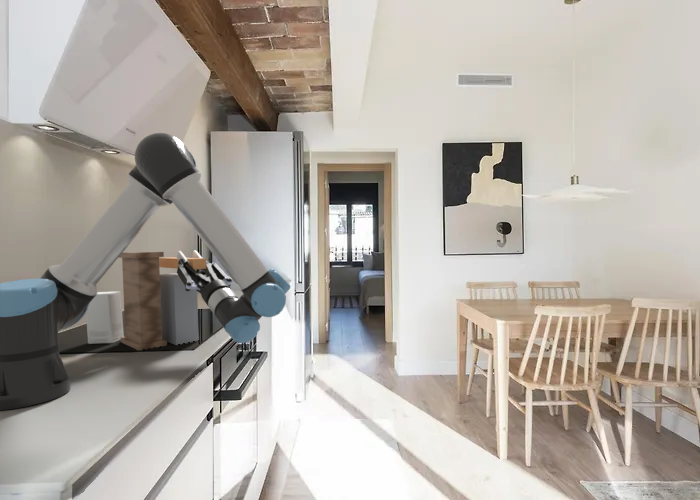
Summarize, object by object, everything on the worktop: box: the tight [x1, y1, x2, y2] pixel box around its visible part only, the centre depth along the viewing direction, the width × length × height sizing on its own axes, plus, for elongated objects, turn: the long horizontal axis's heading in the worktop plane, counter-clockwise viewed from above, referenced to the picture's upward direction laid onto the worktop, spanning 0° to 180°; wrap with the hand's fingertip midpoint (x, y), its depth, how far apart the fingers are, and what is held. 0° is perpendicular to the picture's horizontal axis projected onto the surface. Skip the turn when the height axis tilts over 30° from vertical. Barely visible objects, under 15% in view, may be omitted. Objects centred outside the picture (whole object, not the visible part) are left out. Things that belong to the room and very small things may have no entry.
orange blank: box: [159, 256, 207, 270], centre depth 134 cm, size 4×26×3 cm, turn 44°
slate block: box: [160, 272, 200, 346], centre depth 138 cm, size 7×16×20 cm, turn 44°
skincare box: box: [85, 290, 125, 345], centre depth 137 cm, size 8×7×16 cm
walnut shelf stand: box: [118, 251, 168, 351], centre depth 133 cm, size 8×16×28 cm, turn 44°
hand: (186, 254), depth 131 cm, fingers closed on orange blank, 4 cm apart
